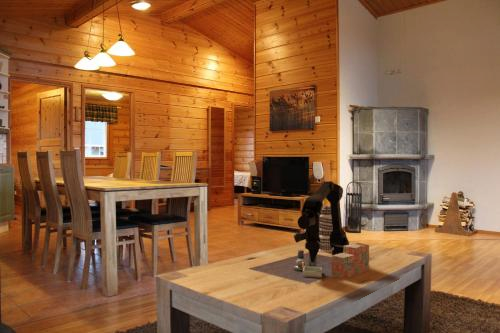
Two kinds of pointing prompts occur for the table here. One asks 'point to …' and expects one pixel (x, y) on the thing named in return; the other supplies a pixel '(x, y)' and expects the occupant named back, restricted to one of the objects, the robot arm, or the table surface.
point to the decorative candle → (325, 229)
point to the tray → (312, 272)
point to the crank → (300, 258)
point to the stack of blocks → (351, 261)
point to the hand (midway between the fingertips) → (312, 261)
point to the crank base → (299, 267)
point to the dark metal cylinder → (312, 262)
